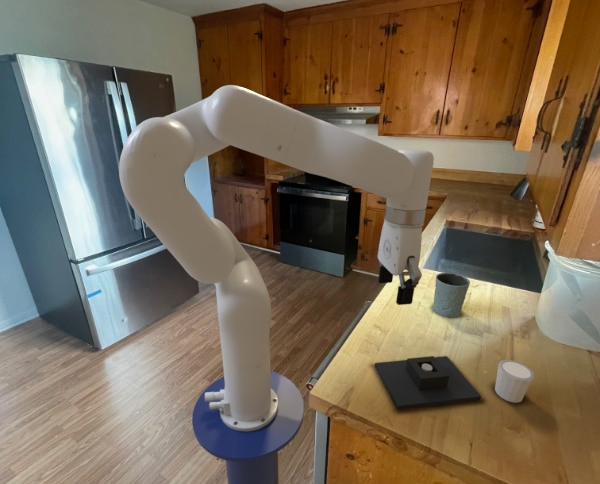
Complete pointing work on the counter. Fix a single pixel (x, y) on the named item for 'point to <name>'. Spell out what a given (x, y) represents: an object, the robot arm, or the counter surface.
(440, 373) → the black square frame
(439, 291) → the grey green embossed cup
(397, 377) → the base pad
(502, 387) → the white short cylinder
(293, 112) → the robot arm
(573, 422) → the counter surface
